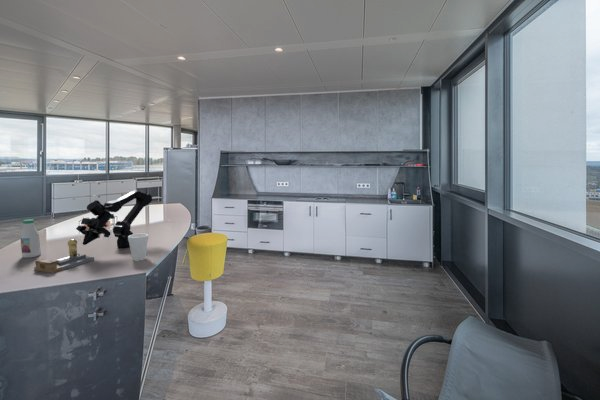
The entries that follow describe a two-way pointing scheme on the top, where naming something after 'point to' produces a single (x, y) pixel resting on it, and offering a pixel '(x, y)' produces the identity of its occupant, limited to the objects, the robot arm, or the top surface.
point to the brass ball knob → (70, 250)
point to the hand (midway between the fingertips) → (83, 244)
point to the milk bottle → (30, 240)
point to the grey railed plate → (60, 263)
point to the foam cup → (138, 246)
